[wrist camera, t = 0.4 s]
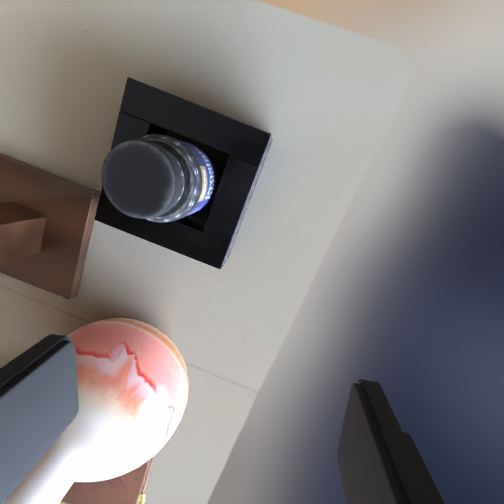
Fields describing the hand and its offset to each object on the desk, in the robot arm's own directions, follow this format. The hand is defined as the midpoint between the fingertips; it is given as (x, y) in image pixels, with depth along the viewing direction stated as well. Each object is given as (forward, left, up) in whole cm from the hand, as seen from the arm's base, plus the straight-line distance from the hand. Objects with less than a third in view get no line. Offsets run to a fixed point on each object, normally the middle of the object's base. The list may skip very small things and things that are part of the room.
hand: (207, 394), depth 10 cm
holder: (-9, -2, -21) cm, 23 cm away
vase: (+4, -18, -21) cm, 28 cm away
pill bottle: (-9, -2, -21) cm, 23 cm away
